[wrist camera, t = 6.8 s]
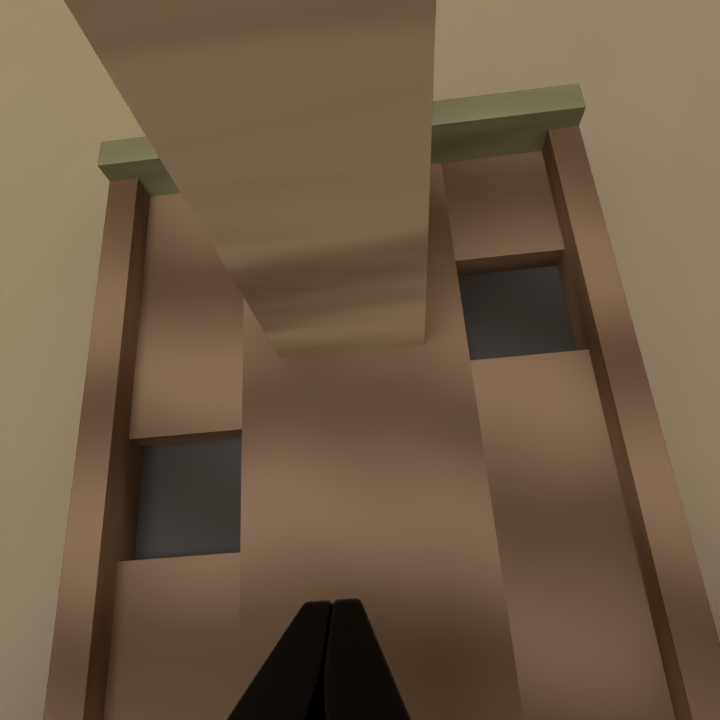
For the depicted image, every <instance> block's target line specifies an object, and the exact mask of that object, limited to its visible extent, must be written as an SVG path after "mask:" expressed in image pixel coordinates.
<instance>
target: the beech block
mask: <svg viewBox="0 0 720 720" xmlns="http://www.w3.org/2000/svg"><path fill="white" fill-rule="evenodd" d="M64 1H65V3H66V4H67V6H68V7H69V9H70V11H71V12H72V14H73V16H74V17H75V19H76V21H77V22H78V24H79V26H80V27H81V29H82V31H83V32H84V34H85V36H86V37H87V39H88V41H89V42H90V44H91V46H92V47H93V49H94V51H95V52H96V54H97V55H98V57H99V59H100V60H101V62H102V64H103V65H104V67H105V69H106V70H107V72H108V74H109V75H110V77H111V79H112V80H113V82H114V84H115V85H116V87H117V89H118V90H119V92H120V94H121V95H122V97H123V99H124V100H125V102H126V103H127V105H128V107H129V108H130V110H131V112H132V113H133V115H134V117H135V118H136V120H137V122H138V123H139V125H140V127H141V128H142V130H143V132H144V133H145V135H146V137H147V138H148V140H149V142H150V143H151V145H152V147H153V148H154V150H155V151H156V153H157V155H158V156H159V158H160V160H161V161H162V163H163V165H164V166H165V168H166V170H167V171H168V173H169V175H170V176H171V178H172V180H173V181H174V183H175V185H176V186H177V188H178V190H179V191H180V193H181V195H182V196H183V198H184V199H185V201H186V203H187V204H188V206H189V208H190V209H191V211H192V213H193V214H194V216H195V218H196V219H197V221H198V223H199V224H200V226H201V228H202V229H203V231H204V233H205V234H206V236H207V238H208V239H209V241H210V243H211V244H212V246H213V247H214V249H215V251H216V252H217V254H218V256H219V257H220V259H221V261H222V262H223V264H224V266H225V267H226V269H227V271H228V272H229V274H230V276H231V277H232V279H233V281H234V282H235V284H236V286H237V287H238V289H239V291H240V292H241V294H242V295H243V297H244V299H245V300H246V302H247V304H248V305H249V307H250V309H251V310H252V312H253V314H254V315H255V317H256V319H257V320H258V322H259V324H260V325H261V327H262V329H263V330H264V332H265V334H266V335H267V337H268V339H269V340H270V342H271V343H272V345H273V347H274V348H275V350H276V352H277V353H278V355H279V357H280V358H284V357H295V356H305V355H315V354H326V353H336V352H346V351H357V350H367V349H377V348H387V347H398V346H408V345H418V344H424V340H425V311H426V281H427V252H428V223H429V193H430V164H431V134H432V105H433V76H434V46H435V17H436V0H64Z"/></svg>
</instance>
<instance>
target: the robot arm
mask: <svg viewBox="0 0 720 720" xmlns="http://www.w3.org/2000/svg"><path fill="white" fill-rule="evenodd" d="M227 720H411V718H410V716H409V713H408V711H407V709H406V706H405V704H404V702H403V699H402V697H401V694H400V692H399V690H398V687H397V685H396V682H395V680H394V678H393V675H392V673H391V670H390V668H389V666H388V663H387V661H386V658H385V656H384V654H383V651H382V649H381V646H380V644H379V642H378V639H377V637H376V634H375V632H374V630H373V627H372V625H371V622H370V620H369V618H368V615H367V613H366V610H365V608H364V606H363V603H362V601H361V600H360V599H359V598H349V599H337V600H335V601H334V603H332V602H331V601H329V600H320V601H308V602H306V603H304V604H303V605H302V607H301V608H300V610H299V611H298V613H297V614H296V616H295V617H294V619H293V620H292V622H291V623H290V625H289V626H288V628H287V629H286V631H285V632H284V634H283V635H282V637H281V638H280V640H279V641H278V643H277V644H276V646H275V647H274V649H273V650H272V652H271V653H270V655H269V656H268V658H267V659H266V661H265V662H264V664H263V665H262V667H261V668H260V670H259V671H258V673H257V674H256V676H255V677H254V679H253V680H252V682H251V683H250V685H249V686H248V688H247V689H246V691H245V692H244V694H243V695H242V697H241V698H240V700H239V701H238V703H237V704H236V706H235V707H234V709H233V710H232V712H231V713H230V715H229V717H228V718H227Z"/></svg>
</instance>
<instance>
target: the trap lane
mask: <svg viewBox="0 0 720 720" xmlns="http://www.w3.org/2000/svg"><path fill="white" fill-rule="evenodd" d="M584 110H585V103H584V100H583V96H582V93H581V89H580V86H579V84H571V85H562V86H554V87H546V88H538V89H530V90H522V91H514V92H505V93H497V94H489V95H481V96H473V97H465V98H457V99H448V100H440V101H433V105H432V134H431V164H430V193H429V223H428V252H427V281H426V311H425V340H424V344H418V345H408V346H398V347H387V348H377V349H367V350H357V351H346V352H336V353H326V354H315V355H305V356H295V357H284V358H280V357H279V355H278V353H277V352H276V350H275V348H274V347H273V345H272V343H271V342H270V340H269V339H268V337H267V335H266V334H265V332H264V330H263V329H262V327H261V325H260V324H259V322H258V320H257V319H256V317H255V315H254V314H253V312H252V310H251V309H250V307H249V305H248V304H247V302H246V300H245V299H244V297H243V295H242V294H241V292H240V291H239V289H238V287H237V286H236V284H235V282H234V281H233V279H232V277H231V276H230V274H229V272H228V271H227V269H226V267H225V266H224V264H223V262H222V261H221V259H220V257H219V256H218V254H217V252H216V251H215V249H214V247H213V246H212V244H211V243H210V241H209V239H208V238H207V236H206V234H205V233H204V231H203V229H202V228H201V226H200V224H199V223H198V221H197V219H196V218H195V216H194V214H193V213H192V211H191V209H190V208H189V206H188V204H187V203H186V201H185V199H184V198H183V196H182V195H181V193H180V191H179V190H178V188H177V186H176V185H175V183H174V181H173V180H172V178H171V176H170V175H169V173H168V171H167V170H166V168H165V166H164V165H163V163H162V161H161V160H160V158H159V156H158V155H157V153H156V151H155V150H154V148H153V147H152V145H151V143H150V142H149V140H148V138H147V137H139V138H131V139H123V140H115V141H107V142H101V146H100V153H99V161H98V166H99V168H100V169H101V170H102V172H103V173H104V174H105V176H106V177H107V178H108V180H109V181H110V184H109V192H108V200H107V209H106V217H105V225H104V233H103V241H102V249H101V257H100V265H99V273H98V281H97V289H96V297H95V305H94V313H93V322H92V330H91V338H90V346H89V354H88V362H87V370H86V378H85V386H84V394H83V402H82V410H81V418H80V426H79V435H78V443H77V451H76V459H75V467H74V475H73V483H72V491H71V499H70V507H69V515H68V523H67V531H66V539H65V548H64V556H63V564H62V572H61V580H60V588H59V596H58V604H57V612H56V620H55V628H54V636H53V644H52V652H51V660H50V669H49V677H48V685H47V693H46V701H45V709H44V717H43V720H227V718H228V717H229V715H230V713H231V712H232V710H233V709H234V707H235V706H236V704H237V703H238V701H239V700H240V698H241V697H242V695H243V694H244V692H245V691H246V689H247V688H248V686H249V685H250V683H251V682H252V680H253V679H254V677H255V676H256V674H257V673H258V671H259V670H260V668H261V667H262V665H263V664H264V662H265V661H266V659H267V658H268V656H269V655H270V653H271V652H272V650H273V649H274V647H275V646H276V644H277V643H278V641H279V640H280V638H281V637H282V635H283V634H284V632H285V631H286V629H287V628H288V626H289V625H290V623H291V622H292V620H293V619H294V617H295V616H296V614H297V613H298V611H299V610H300V608H301V607H302V605H303V604H304V603H306V602H308V601H320V600H329V601H331V602H332V603H334V601H335V600H337V599H349V598H359V599H360V600H361V601H362V603H363V606H364V608H365V610H366V613H367V615H368V618H369V620H370V622H371V625H372V627H373V630H374V632H375V634H376V637H377V639H378V642H379V644H380V646H381V649H382V651H383V654H384V656H385V658H386V661H387V663H388V666H389V668H390V670H391V673H392V675H393V678H394V680H395V682H396V685H397V687H398V690H399V692H400V694H401V697H402V699H403V702H404V704H405V706H406V709H407V711H408V713H409V716H410V718H411V720H720V643H719V639H718V636H717V632H716V628H715V625H714V621H713V617H712V613H711V610H710V606H709V602H708V599H707V595H706V591H705V588H704V584H703V580H702V577H701V573H700V569H699V566H698V562H697V558H696V555H695V551H694V547H693V544H692V540H691V536H690V533H689V529H688V525H687V522H686V518H685V514H684V511H683V507H682V503H681V500H680V496H679V492H678V489H677V485H676V481H675V478H674V474H673V470H672V467H671V463H670V459H669V456H668V452H667V448H666V444H665V441H664V437H663V433H662V430H661V426H660V422H659V419H658V415H657V411H656V408H655V404H654V400H653V397H652V393H651V389H650V386H649V382H648V378H647V375H646V371H645V367H644V364H643V360H642V356H641V353H640V349H639V345H638V342H637V338H636V334H635V331H634V327H633V323H632V320H631V316H630V312H629V309H628V305H627V301H626V298H625V294H624V290H623V286H622V283H621V279H620V275H619V272H618V268H617V264H616V261H615V257H614V253H613V250H612V246H611V242H610V239H609V235H608V231H607V228H606V224H605V220H604V217H603V213H602V209H601V206H600V202H599V198H598V195H597V191H596V187H595V184H594V180H593V176H592V173H591V169H590V165H589V162H588V158H587V154H586V151H585V147H584V143H583V140H582V136H581V132H580V128H579V124H580V121H581V118H582V116H583V113H584Z"/></svg>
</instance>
